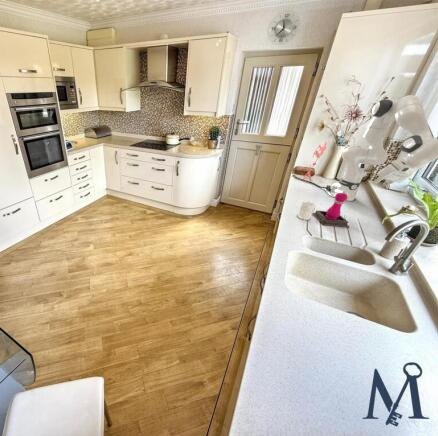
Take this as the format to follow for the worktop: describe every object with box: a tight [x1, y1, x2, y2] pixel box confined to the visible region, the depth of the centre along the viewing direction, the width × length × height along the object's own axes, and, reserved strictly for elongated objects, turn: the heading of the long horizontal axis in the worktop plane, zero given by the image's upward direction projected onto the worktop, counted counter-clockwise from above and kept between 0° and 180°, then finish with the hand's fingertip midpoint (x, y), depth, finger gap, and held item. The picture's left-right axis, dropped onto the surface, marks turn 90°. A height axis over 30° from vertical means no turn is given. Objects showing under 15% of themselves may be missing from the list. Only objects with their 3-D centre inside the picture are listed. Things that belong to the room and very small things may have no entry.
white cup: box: [297, 200, 317, 221], centre depth 152 cm, size 8×8×10 cm
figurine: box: [302, 141, 328, 182], centre depth 212 cm, size 15×26×35 cm, turn 148°
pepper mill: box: [325, 191, 348, 220], centre depth 147 cm, size 7×7×20 cm
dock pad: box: [311, 209, 350, 228], centre depth 152 cm, size 15×15×4 cm
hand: (379, 184), depth 136 cm, fingers open, 8 cm apart
